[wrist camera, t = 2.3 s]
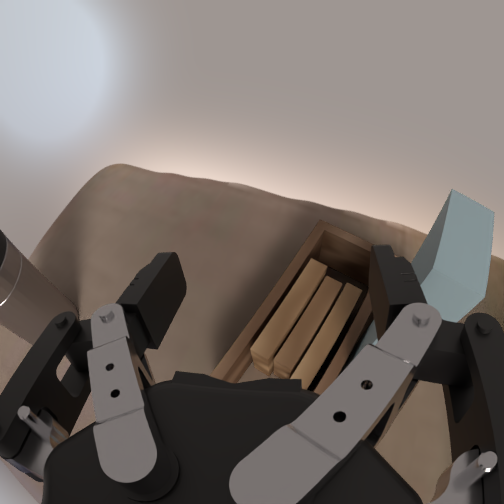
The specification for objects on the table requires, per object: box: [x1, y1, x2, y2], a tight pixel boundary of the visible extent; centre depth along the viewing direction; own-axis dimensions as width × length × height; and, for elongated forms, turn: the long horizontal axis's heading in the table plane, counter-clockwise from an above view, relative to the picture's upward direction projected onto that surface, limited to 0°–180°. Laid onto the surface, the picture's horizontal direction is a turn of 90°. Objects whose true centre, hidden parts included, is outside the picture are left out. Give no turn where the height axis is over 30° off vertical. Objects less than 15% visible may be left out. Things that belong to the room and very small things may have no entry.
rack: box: [210, 220, 398, 395], centre depth 33 cm, size 16×23×7 cm
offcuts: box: [250, 258, 362, 390], centre depth 34 cm, size 7×13×8 cm, turn 146°
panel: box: [340, 189, 494, 374], centre depth 23 cm, size 3×6×26 cm, turn 146°
